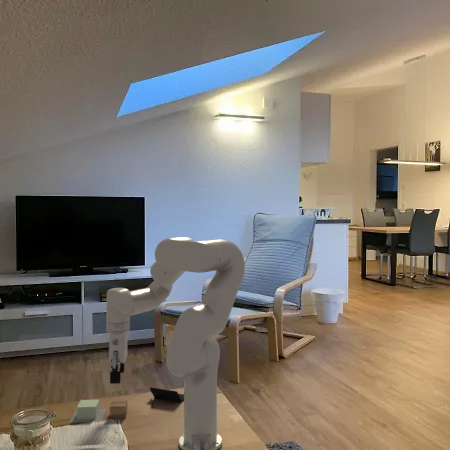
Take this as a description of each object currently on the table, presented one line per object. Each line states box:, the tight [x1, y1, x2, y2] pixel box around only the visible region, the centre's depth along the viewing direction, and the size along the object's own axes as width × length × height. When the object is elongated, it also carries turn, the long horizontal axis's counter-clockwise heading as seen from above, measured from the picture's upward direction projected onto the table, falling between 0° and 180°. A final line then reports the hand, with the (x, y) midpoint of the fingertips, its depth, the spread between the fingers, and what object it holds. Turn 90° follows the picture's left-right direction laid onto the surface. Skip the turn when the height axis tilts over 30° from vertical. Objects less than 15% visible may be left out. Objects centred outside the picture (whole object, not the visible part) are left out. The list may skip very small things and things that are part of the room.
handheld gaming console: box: [149, 386, 184, 404], centre depth 168 cm, size 12×7×10 cm
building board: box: [68, 408, 107, 424], centre depth 153 cm, size 10×10×1 cm
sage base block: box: [76, 399, 100, 420], centre depth 153 cm, size 6×6×4 cm
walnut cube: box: [109, 399, 128, 420], centre depth 153 cm, size 5×5×5 cm
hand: (117, 377), depth 153 cm, fingers open, 9 cm apart
